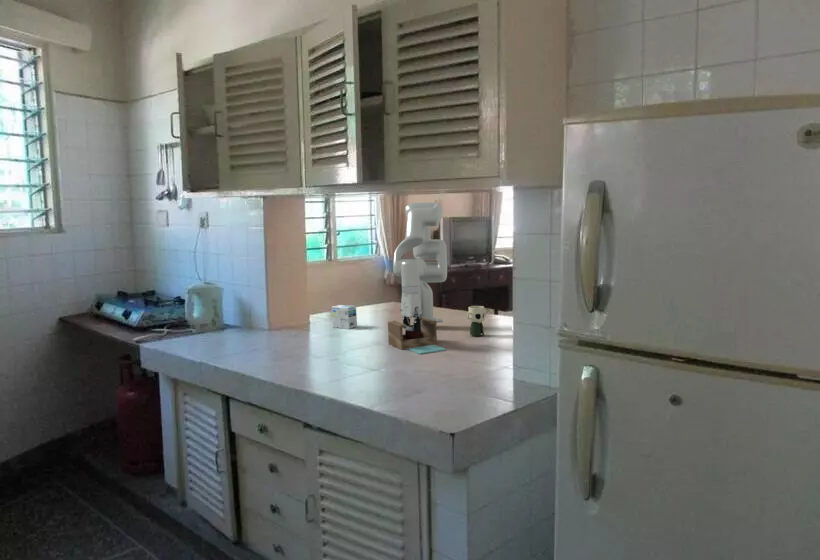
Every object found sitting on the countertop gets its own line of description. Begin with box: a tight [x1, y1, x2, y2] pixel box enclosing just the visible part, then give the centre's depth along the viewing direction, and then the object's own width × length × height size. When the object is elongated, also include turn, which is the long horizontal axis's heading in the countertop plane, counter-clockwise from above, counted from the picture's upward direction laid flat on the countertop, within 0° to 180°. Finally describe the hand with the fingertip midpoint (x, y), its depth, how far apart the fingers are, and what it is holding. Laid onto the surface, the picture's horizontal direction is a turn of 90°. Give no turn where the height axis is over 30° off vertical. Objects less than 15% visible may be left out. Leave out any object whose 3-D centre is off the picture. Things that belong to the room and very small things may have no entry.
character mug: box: [466, 305, 487, 337], centre depth 285 cm, size 11×7×13 cm, turn 125°
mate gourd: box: [399, 309, 422, 340], centre depth 272 cm, size 8×8×15 cm
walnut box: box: [387, 317, 438, 351], centre depth 272 cm, size 17×12×10 cm
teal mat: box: [408, 344, 447, 355], centre depth 261 cm, size 12×10×1 cm
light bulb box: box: [331, 304, 358, 330], centre depth 316 cm, size 11×7×11 cm, turn 58°
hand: (412, 329), depth 272 cm, fingers open, 9 cm apart
